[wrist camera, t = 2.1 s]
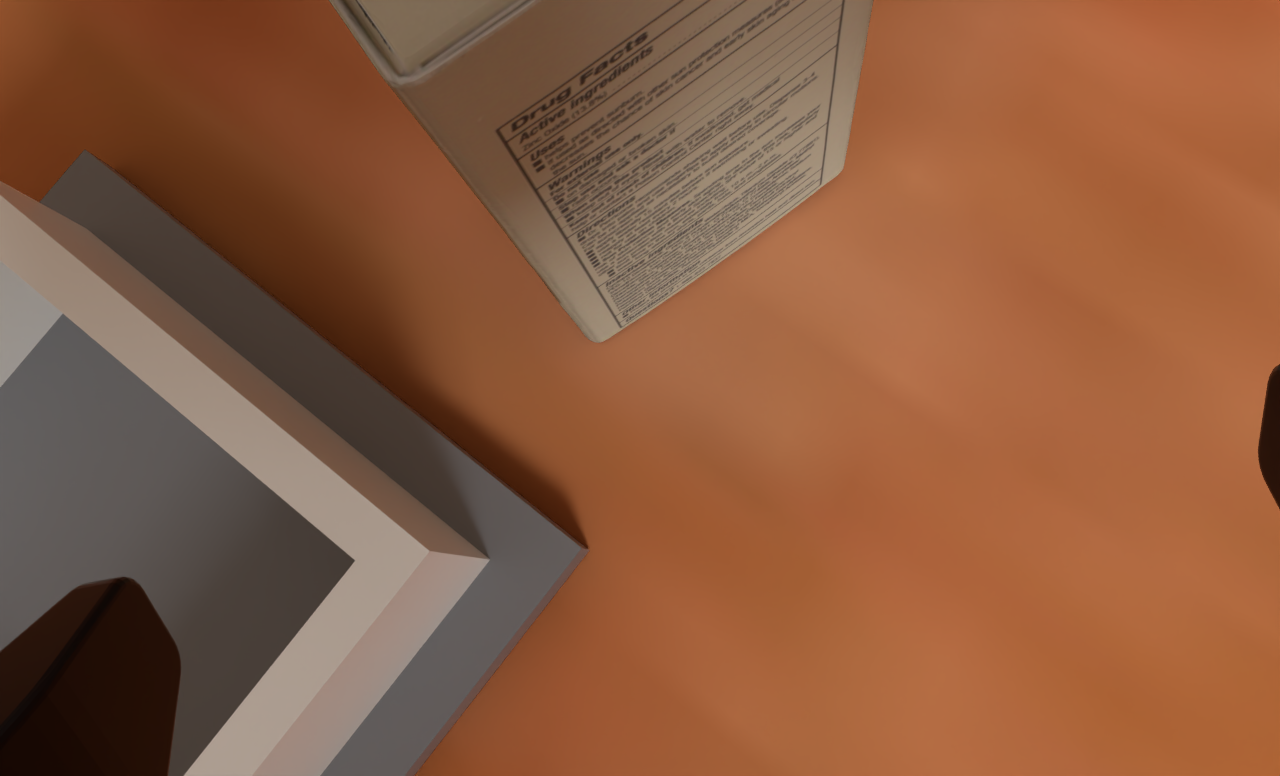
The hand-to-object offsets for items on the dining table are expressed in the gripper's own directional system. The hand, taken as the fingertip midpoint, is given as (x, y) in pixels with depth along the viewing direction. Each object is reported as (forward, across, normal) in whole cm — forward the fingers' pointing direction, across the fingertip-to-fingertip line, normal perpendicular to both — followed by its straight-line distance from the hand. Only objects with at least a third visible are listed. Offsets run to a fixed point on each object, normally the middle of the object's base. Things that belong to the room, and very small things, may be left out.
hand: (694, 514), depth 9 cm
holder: (+10, +12, +8) cm, 17 cm away
